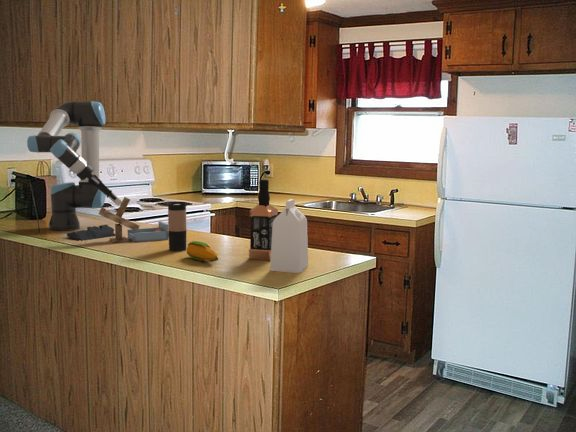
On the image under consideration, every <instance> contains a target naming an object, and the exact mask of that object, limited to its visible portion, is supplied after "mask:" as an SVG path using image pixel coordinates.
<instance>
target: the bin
mask: <svg viewBox="0 0 576 432" xmlns="http://www.w3.org/2000/svg"><path fill="white" fill-rule="evenodd" d="M157 229H160V230H161V231H157V232H155V231H156V230H157ZM127 239H128V240H130V241H132V242H134V243H142V242H154V241H166V240H168V241H169V233H168V224H167V223H165V222H164V221H161V220H159V221H158V227H157V226H156V227H147V228H139V229H138V231H135V230H133V229H131V228H129V229H127Z"/></svg>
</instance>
